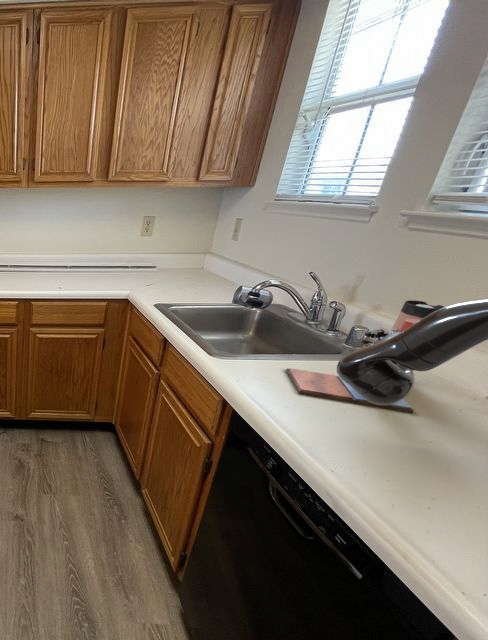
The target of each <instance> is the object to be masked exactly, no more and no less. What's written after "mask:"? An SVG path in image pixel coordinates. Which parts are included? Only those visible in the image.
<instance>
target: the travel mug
mask: <svg viewBox="0 0 488 640" xmlns="http://www.w3.org/2000/svg"><path fill="white" fill-rule="evenodd" d="M444 307H445V306H444V305H442V304H437V305H432V304H428V303H427V302H426V301H423V300H412V299H411V300H406V301H405V302H404V304H403V306H402V307H401V309H400V311H399V313H398V315H397V317H396V319H395V321H394V323H393V325H392V327H391V329H390V331H391V330H397V329H400V328H401V326H402V324H403V322H404V320H405V319H408V318H410V319H419V320H421V319H423V318H424V317H426V316H427V315H429V314H431V313H433V312H434V311H436V310H439V309H441V308H444Z"/></svg>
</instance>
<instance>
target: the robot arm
mask: <svg viewBox="0 0 488 640" xmlns="http://www.w3.org/2000/svg"><path fill="white" fill-rule="evenodd" d="M399 330H400V329H397V330H391V329H390V330H388V332H387V331H386V330H384V329H382V328H378V329H373V330H368V331H366V332H365V333H364V335H363V336H362V340H361V341H360V342H361V344H363V345H368V346H364V347H362V348H359V349H357V350H354V351H352V352H350V353H348V354H346V355H345V356H343V357H342V358H340V360H339V361H338V363H337V365H336V368H335V369H336V374H337V376H339V377H340V378H341V379H342V380H344V381H345V382H346V383H348V385H350V386H351V387H352V388H353V389H354V390H355V391H357V392H358V393H359V394H361V396H362V397H364V398H365V399H366V400H367V401H369V402H371V403H373V404H376V405H390V404H393V403H396V402H398V401H400V400H402V399H403V400H404V399H405V398H406V397H407V396H408V395H409V394H410V393H411V392H412V389H413V388H414V385H415V382H416V378H415V373H414V372H427V371H431V370H433V369H435V368H437V367H440V366H441V365H443V364H445V363H447V362H449V361H450V360H453V359H454V358H456V357H458V356H460V355H462V354H464V353H466V352H467V351H470V350H471V349H473V348H475V347H477V346H479V345H480V344H482V343H485V342H487V341H488V298H481V299H474V300H468V301H462V302H457V303H453V304H450V305H446V306H444V308H441V309H439V310H436V311H434V312H433V313H431V314H429V315H427V316H426V317H424V318H423V319H421V320H420V321H418V322H416V323H415V324H413V325H412V326H410V327H409V328H407V329H406V330H404V331H403V332H399ZM385 331H386V332H385ZM374 343H376V344H374ZM369 344H371V345H369Z"/></svg>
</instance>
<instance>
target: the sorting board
mask: <svg viewBox="0 0 488 640" xmlns="http://www.w3.org/2000/svg"><path fill="white" fill-rule="evenodd" d="M285 372H286V374H287V375H288V377H289V379H290V381H291V383H292V384H293V386H294V388H295V389H296V391H297V393H298V394H299V395H304V396H310V397H311V396H312V397H316V398H322V399H329V400H333V401H340V402H344V403H346V402H347V403H351V404H357V405H362V406H370V407H375V408H380V409H385V410H392V411H396V412H398V411H399V412H403V413H410V414H413V413H414V409H413V408H412V406H411V405H409V403H407V401H405V400H404V398H403V399H402V400H400V401H398V402H396V403H393V404H390V405H376V404H373V403H371V402H369V401H367V400H366V399H365V398H364V397H362V396H361V394H359V393H358V392H357V391H355V390H354V389H353V388H352V387H351V386H350V385H348V383H346V382H345V381H344V380H342V379H341V378H340V377H339V376H338V375H335V374H329V373H322V372H315V371H309V370H303V369H296V368H292V367H287V368H286V369H285Z"/></svg>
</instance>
